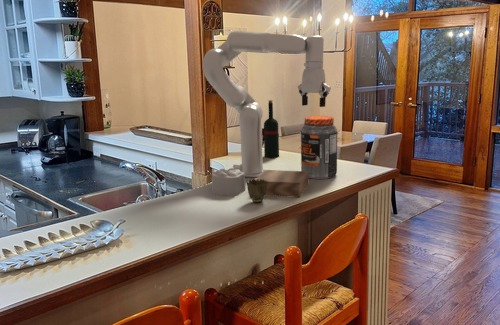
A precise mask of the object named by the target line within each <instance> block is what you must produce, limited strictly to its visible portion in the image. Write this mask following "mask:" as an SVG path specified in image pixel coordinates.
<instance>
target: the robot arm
mask: <svg viewBox="0 0 500 325" xmlns="http://www.w3.org/2000/svg"><path fill="white" fill-rule="evenodd" d="M324 45H325V44H324V37H323V36H321V35H310V36H309V35H308V36H307V37H306V36H301V35H298V34H282V33H270V32H261V31H258V32H257V31H244V30H241V31H240V30H233V31H231V32H229V33H228V35H227V37H226V40H225V41H224V42H223V43H222V44H221V45H219V46H218V47H216V48H211V49H209V50H208V51H207V52H206V53H205V55H204V57H203V60H202V71H203V75H204V78H205V79H206V80H207V82H208V83H209V84H210V85H211V87H212V88H213V89H214V91H216V93H217V94H218V95H219V96H220V97H221V99H223V101H224V102H225V103H226V104H227V106H229V107H230V108H232V109H233V108H235V110H236V112H238V113H239V114H238V115H239V117H238V118H239V120H238V122H239V132H240V135H239V136H240V149H241V150H240V151H241V152H240V154H241V163H240V164H233V166H232V168H234V169H235V170H239V171H241V172H243V173H245V178H257V177H258V176H260V175H261V174H262V173H263V172H264V171H265V170H266V169H264V168H263V167H264V165H263V164H264V163H263V146H262V140H263V135H262V118H263V115H264V114H263V113H264V112H263V109H262V107H261V106H260V104H259V103H258V102H257V101H256V99H255V98H254V97H253V96H252V95H251V94H250V93H249V92H248V91H247V90H246V88H245V87H244V86H242V85H238V84H237V83H235V81H233V80H232V79H231V77H230V76H229V75H228V73H227V72H226V71H225V70H224V67H226V66H227V65H228V64H230V63H231V62H232V61H233V60H235V58H237V57H238V56H239V55H240V54H241V53H243V52H244V53H256V54H270V53H274V54H275V53H276V54H278V53H280V54H293V55H299V54H305V55H304V56H305V60H304V61H305V62H304V64H303V66H304V69H303V72H302V77H301V83H300V84H298V85H297V89H298V92H299V94H300V96H301V106H304V107H305V106H308V102H309V97H308V94H318V95H319V107H320V108H324V107H325V108H326V102H327V101H326V98H328V97H327V96H328V95H329V94H330V92H331V89H332V87H331V86H330V85H328V84H327V83H326V73H325V69H324Z"/></svg>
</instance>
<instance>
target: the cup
mask: <svg viewBox="0 0 500 325" xmlns="http://www.w3.org/2000/svg"><path fill="white" fill-rule="evenodd" d="M255 179H256V178H253V179H249V181H246V188H247V193H248V195H249V197H250V198H251V199H252V200H251V201H252V202H253V203H254V204H261V203H262V202H263V198H265V196H266V195H265V194H266V188H267V181H266V180H265V181H264V179H263V180H262V179H260V181H259V180H258V179H257V180H255Z"/></svg>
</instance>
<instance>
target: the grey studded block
mask: <svg viewBox="0 0 500 325" xmlns="http://www.w3.org/2000/svg"><path fill="white" fill-rule="evenodd" d="M211 181H212V182H211V188H212V193H214V194H217V195H220V196H221V195H222V196H239V195H240V194H242V193H243V192H245V191H246V177H245V173H243V172H241V171H240V170H239V169H237V170H236V169H234V168H233V167H230V168H229V169H225V168H220V169H219V170H216V171H214V172H212V173H211Z"/></svg>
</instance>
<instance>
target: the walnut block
mask: <svg viewBox="0 0 500 325" xmlns="http://www.w3.org/2000/svg"><path fill="white" fill-rule="evenodd" d="M264 170H265V171H264V172H263V173H262V174H261V175H260V176H258V177H255V178H254V179H255V180H257V179H258V180H259V181H260V179H262V180H263V179H264V181H265V180H266V181H267V188H266V194H265V196H267V197H268V196H270V197H286V198H287V197H288V198H301V196H302V195H303V193H305V190H307V187H308V186H309V178H308V172H307V171H300V170H282V169H281V170H279V169H277V170H276V169H275V170H274V169H264Z"/></svg>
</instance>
